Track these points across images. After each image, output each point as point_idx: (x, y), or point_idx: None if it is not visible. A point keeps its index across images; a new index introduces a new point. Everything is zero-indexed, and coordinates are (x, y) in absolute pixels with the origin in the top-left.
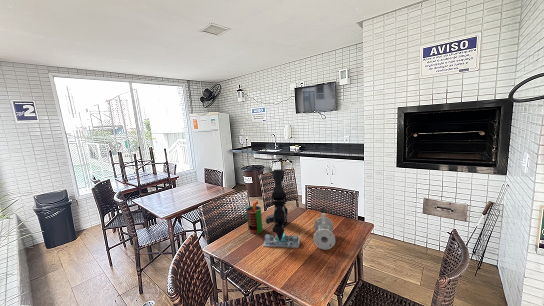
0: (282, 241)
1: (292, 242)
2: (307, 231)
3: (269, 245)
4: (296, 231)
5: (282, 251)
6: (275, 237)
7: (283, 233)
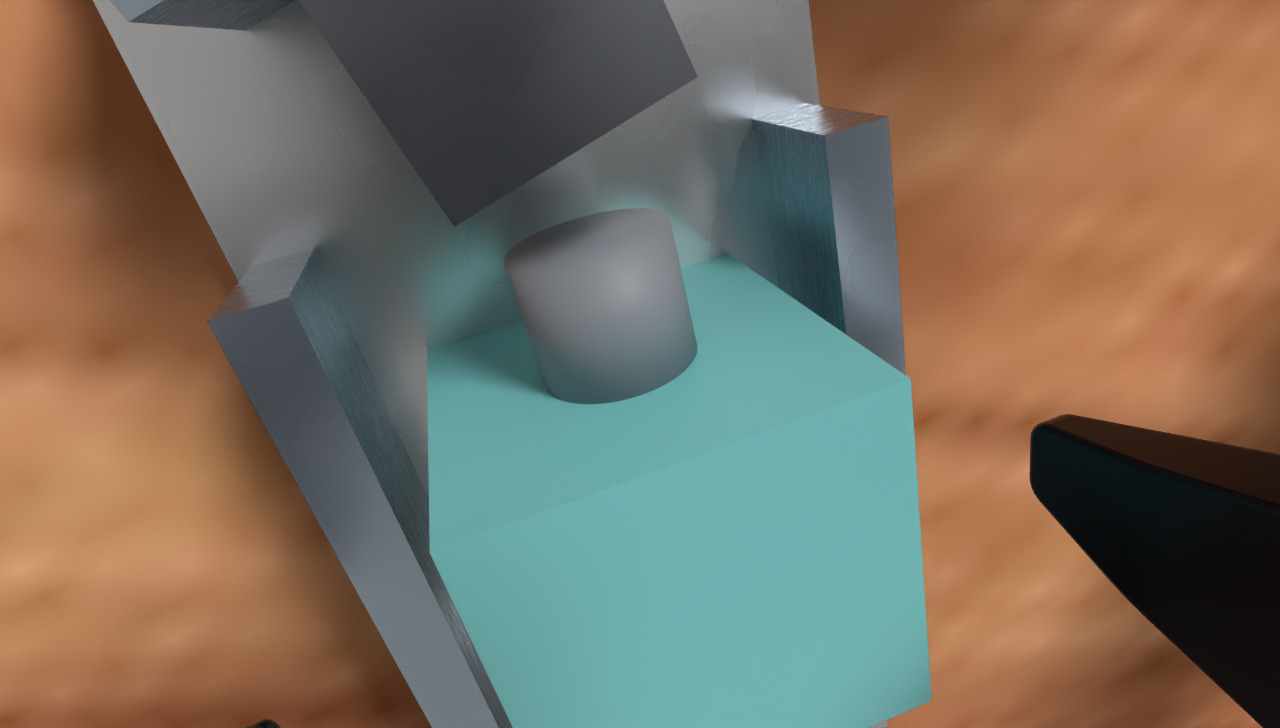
0: (449, 650)
1: None
2: None
3: (129, 46)
4: None
5: (154, 648)
6: (545, 305)
7: (863, 666)
